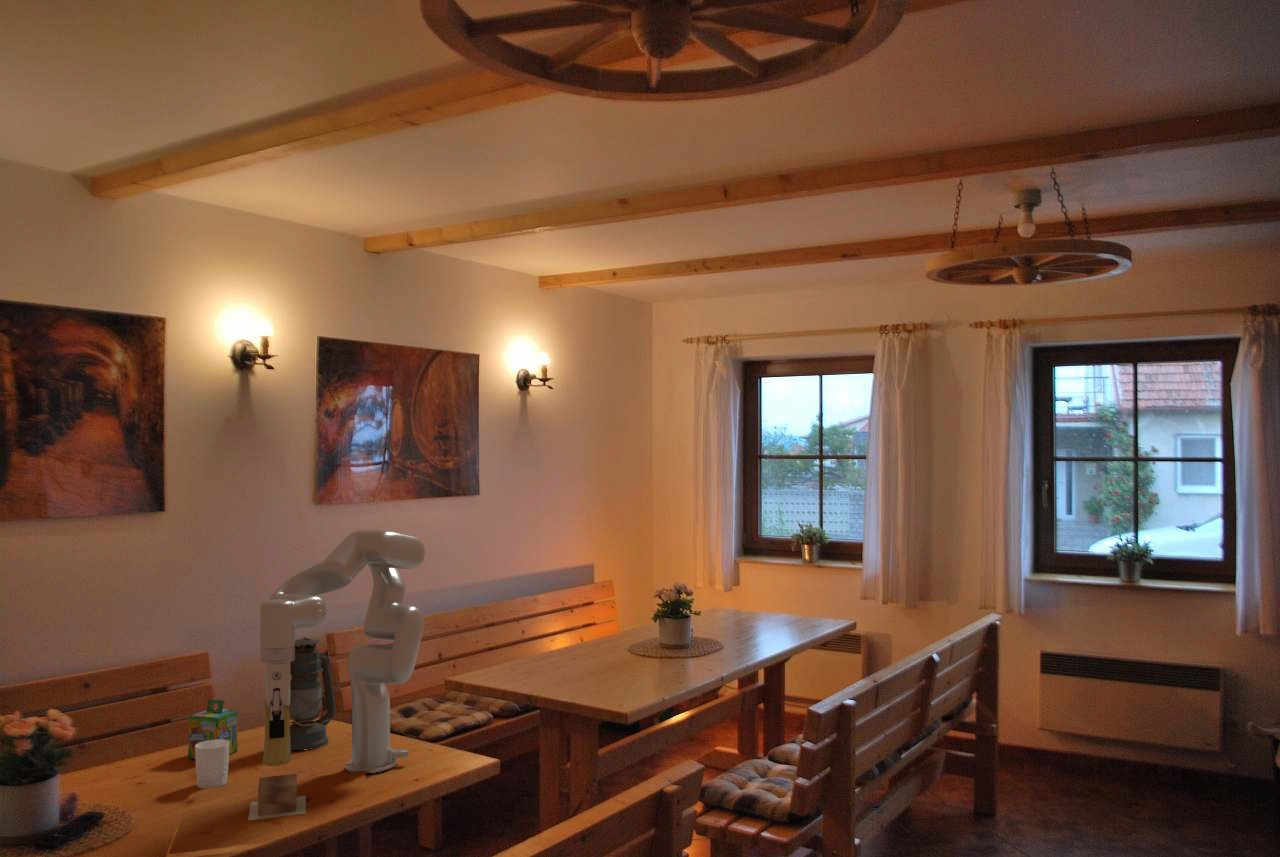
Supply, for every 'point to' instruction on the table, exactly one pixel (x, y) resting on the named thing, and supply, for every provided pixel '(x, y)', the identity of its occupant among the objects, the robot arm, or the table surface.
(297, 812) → the baseplate
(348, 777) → the table surface
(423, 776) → the table surface
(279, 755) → the vase
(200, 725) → the chalk box
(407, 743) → the table surface
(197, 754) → the white cup
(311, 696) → the lantern
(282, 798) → the walnut block
